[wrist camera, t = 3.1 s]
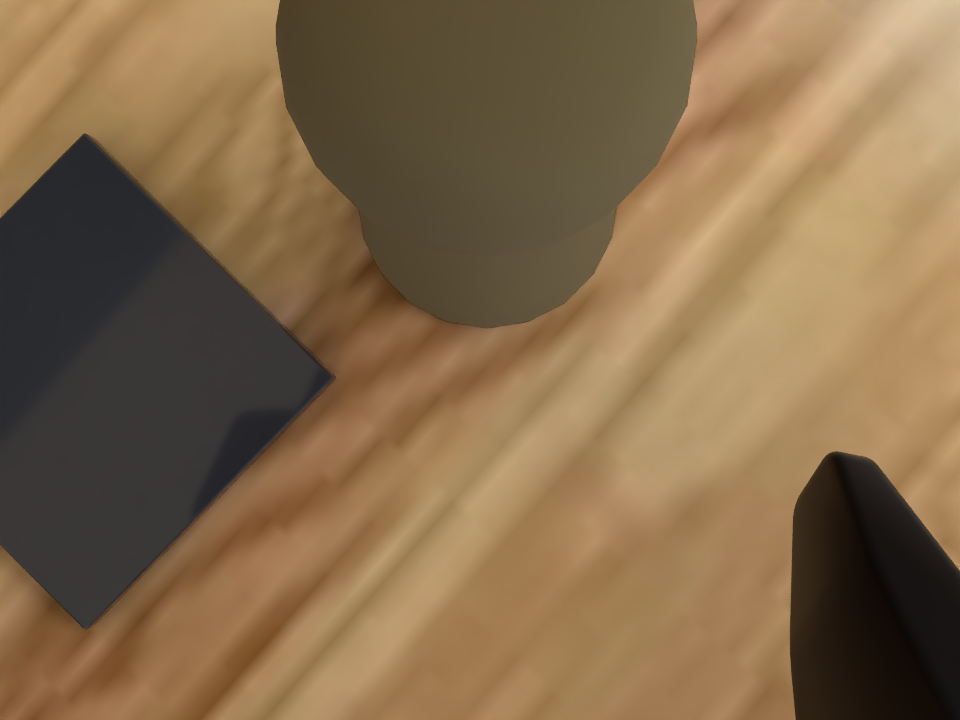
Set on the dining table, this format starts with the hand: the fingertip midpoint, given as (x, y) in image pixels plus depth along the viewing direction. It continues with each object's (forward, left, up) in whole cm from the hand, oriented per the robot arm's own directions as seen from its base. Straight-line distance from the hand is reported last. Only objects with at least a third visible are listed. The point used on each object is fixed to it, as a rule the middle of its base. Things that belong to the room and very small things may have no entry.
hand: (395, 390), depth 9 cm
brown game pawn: (+3, +3, -11) cm, 12 cm away
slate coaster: (-7, +4, -11) cm, 14 cm away
